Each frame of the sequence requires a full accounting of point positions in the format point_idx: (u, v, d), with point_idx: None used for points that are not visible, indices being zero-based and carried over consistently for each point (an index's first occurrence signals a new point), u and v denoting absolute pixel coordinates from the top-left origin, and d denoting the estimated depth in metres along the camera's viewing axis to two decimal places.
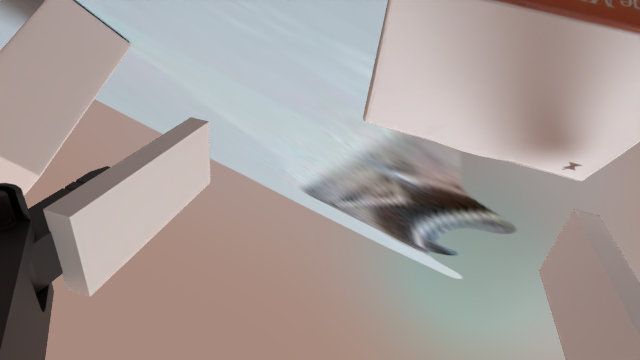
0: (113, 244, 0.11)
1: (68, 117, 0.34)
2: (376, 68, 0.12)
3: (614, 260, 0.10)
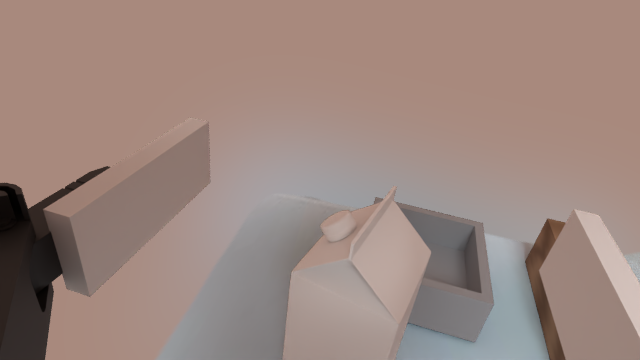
0: (113, 244, 0.11)
1: None
2: None
3: (614, 260, 0.10)
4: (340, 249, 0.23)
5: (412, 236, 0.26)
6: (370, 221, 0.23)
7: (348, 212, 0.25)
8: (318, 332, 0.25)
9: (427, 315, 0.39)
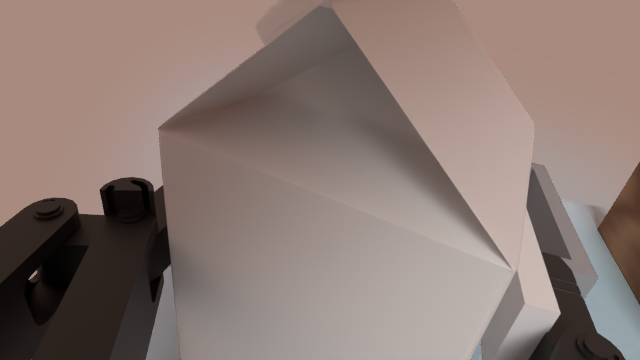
0: None
1: None
2: None
3: None
4: None
5: (495, 74, 0.10)
6: None
7: None
8: (247, 315, 0.09)
9: None
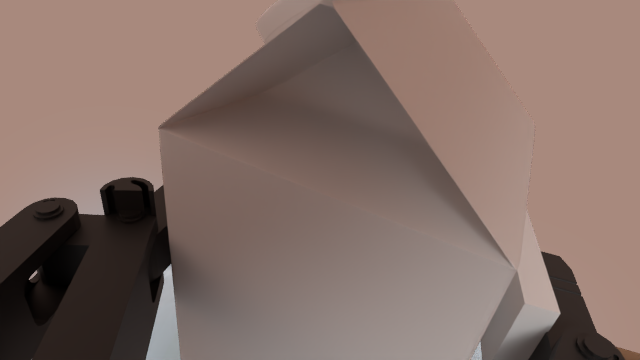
0: None
1: None
2: None
3: None
4: None
5: (495, 73, 0.10)
6: None
7: None
8: (248, 314, 0.09)
9: None
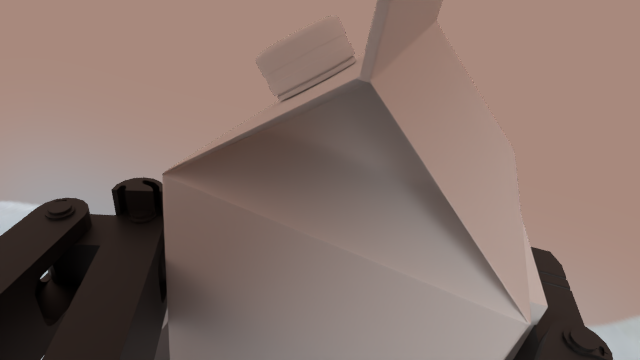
0: None
1: None
2: None
3: None
4: (320, 88, 0.07)
5: (482, 105, 0.11)
6: None
7: (335, 16, 0.09)
8: (252, 350, 0.09)
9: None
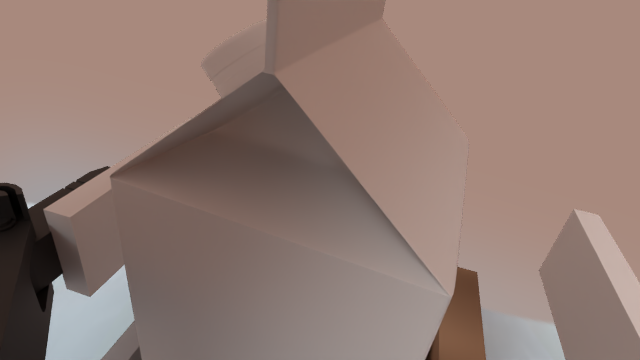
0: (113, 244, 0.11)
1: None
2: None
3: (614, 260, 0.10)
4: None
5: (431, 97, 0.11)
6: None
7: None
8: (213, 345, 0.10)
9: None
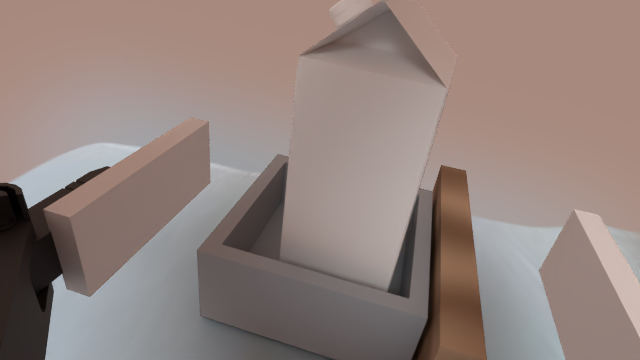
0: (113, 244, 0.11)
1: None
2: None
3: (614, 260, 0.10)
4: None
5: (437, 31, 0.22)
6: None
7: None
8: (334, 145, 0.20)
9: (322, 335, 0.23)
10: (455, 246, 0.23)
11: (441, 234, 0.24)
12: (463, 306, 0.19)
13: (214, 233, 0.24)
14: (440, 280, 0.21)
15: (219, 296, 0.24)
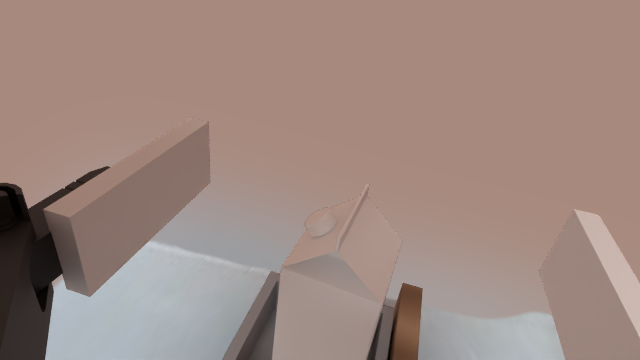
0: (113, 244, 0.11)
1: None
2: None
3: (614, 260, 0.10)
4: (326, 243, 0.26)
5: (385, 227, 0.29)
6: (351, 216, 0.25)
7: (329, 209, 0.28)
8: (308, 320, 0.28)
9: None
10: None
11: None
12: None
13: None
14: None
15: None
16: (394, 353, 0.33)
